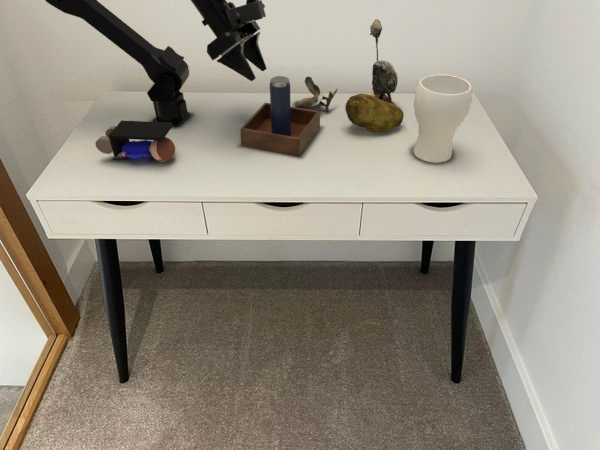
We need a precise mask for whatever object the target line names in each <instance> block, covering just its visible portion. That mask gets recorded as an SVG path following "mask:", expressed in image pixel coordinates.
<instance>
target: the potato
mask: <svg viewBox="0 0 600 450" xmlns="http://www.w3.org/2000/svg"><path fill="white" fill-rule="evenodd" d="M396 105H397V104H396ZM396 105H393V104H391V103H388V102H385V101H383V100H380V99H378V98H376V97H374V96H372V94H368V93H358V94H354V95H351V96H350V97H349V98H348V99H347V101H346V103H345V107H344V109H345V110H344V111H345V113H346V116H347V118H348V120H349V121H350V122H351V124H353V125H354V126H357V127H358V128H361V129H365V130H367V131H369V132H373V133H386V132H390V131H393V130H395V129H396V128H398V127H399V126H400V125H401V124H403V121H404V116H405V115H404V111H403V110H402V109H401V107H400V106H398V105H397V106H396Z"/></svg>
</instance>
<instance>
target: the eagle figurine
mask: <svg viewBox="0 0 600 450" xmlns="http://www.w3.org/2000/svg"><path fill="white" fill-rule="evenodd" d="M304 84H305V85H306V88H307V89H308V92H309V93H311V94H312V95H313V96H311V97H304V98H301V99H300V100H299V101H296V102H295V103H294V107H296V108H300V107H307V108H308V107H309V108H310V107H312V106H313V105H314V104H316V106H318V105H321V106H322V107H324V109H325V111H326V112H327V113H328V111H329V106H330V104H331V102H332V100H334V99H333V98H334V97H335V95H336V94H337V93H338V90H339V89H338V88H336V89H335V90H334V92H332V90H331V91H329V92H328V96H324V92H322V93H321V89H320V87H319V85H318V84H316V83H315V82H314V80H313V78H312V77H311V76H306V77H305V79H304ZM322 100H326V103H324V102H323V101H322Z"/></svg>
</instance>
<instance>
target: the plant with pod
mask: <svg viewBox="0 0 600 450" xmlns="http://www.w3.org/2000/svg"><path fill="white" fill-rule="evenodd" d="M369 29H370V34H369V36H372V37H373V38H375V47H376V61H375V62H374V63H373V64H372V73H371V75H372V76H371V77H372V80H371V86H372V88H371V89H372V91H373V93H371V95H372V96H374V97H376V98H378V99H380V100H383V101H385V102H388V103H391V104H393V105H396V106H397V107H398V105H397V104H396V103H395V102H394V100H393V99H392V95H391V94H392V93H395V92H396V89H397V88H398V87H397V86H398V73H397V72H396V70H395V67H394V66H393V64H392V63H390V62H389V61H387V60H379V49H378V45H379V44H378V43H379V38H380V36H381V34H382V31H383V26H382V23H381V21H380V20H379V19H377V18H376V19H374V20H373V22H372V24H371V25H370V26H369Z"/></svg>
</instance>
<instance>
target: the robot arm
mask: <svg viewBox="0 0 600 450" xmlns="http://www.w3.org/2000/svg"><path fill="white" fill-rule="evenodd" d="M44 1H45V2H46V3H47V4H49V5H50V6H52V7H54V8H55V9H56V10H59V11H61V12H62V13H64V14H67V15H70V16H73V17H76V18H79V19H82V20H83V21H84V22H86V23H87V24H88V25H90V26H91V27H92V28H93V29H95V30H96V31H97V32H99V34H101V35H102V36H104V37H105V38H106V39H108V40H109V41H110V42H111V43H113V44H114V45H115V46H116V47H117V48H119V49H120V50H121V51H123V52H124V53H126V54H127V55H128V56H129V57H131V58H132V60H135V62H137V63H138V64H139V65H141V66H142V68H143V69H144V71H145V72H146V75H147V76H148V78H149V80H150V81H151V82H152V83H153V84H152V86H150V88H149V89H148V90H147V92H146V95H147V97H148V98H149V101H151V102H152V104H153V108H154V113H155V117H154V118H153V119H152V120H151V122H173V126H172V127H178V126H180V125H181V124H182V123H183V122H184V121H185V120H187V119H188V118H189V117H190V116H191V112H189V111H188V106H187V101H186V99H185V98H184V92H182V91H180V90H181V89H182V88H183V86H184V84H185V83H186V82H187V80H188V79H189V76H190V68H189V64H188V63H187V62H186V61H185V60H184V59H185V56H182V55H180V54H179V53H177V52H176V51H175V50H174V48H172V47H171V46H170V45H168V46H166V48H165V49H162V48H158V47H156V46H155V45H153V44H152V43H150V42H149V41H148V40H147V39H146V38H145V37H143V36H142V35H140V34H139V33H138V32H137V31H136V30H135V29H134V28H132V27H131V26H130V25H128V24H127V23H126V22H124V21H123V20H122V19H121V18H120V17H119V16H117V15H116V14H114V13H113V12H112V11H111V10H110V9H108V8H107V7H106V6H105V5H104V4H102V3H101V2H99V0H44ZM190 2H191V3H192V5H193V6H194V7H195V10H197V12H198V13H199V15H200V16H201V18H202V19H203V20H201V23H202V25H203V26H204V27H207V26H208V28H209V30H211V32H212V33H213V35H214V36H215V37H216V38H214V39H213V40H212V41H211V42H209V43H208V44H207V45H206V53H207V55H208V56H209V58H210V59H211V61H214V60H216V62H217V63H218V64H221V65H223V66H225V67H227V68H229V69H231V70H233V71H234V72H236V73H237V74H239V75H240V76H242V77H244V78H245V79H247V80H248V81H250V82H253V81H254V80H256V75H255V73H254V71H253V69H252V67H251V65H250V63H251V64H252V65H253V66H254V67H256V68H257V69H258V70H260V71H261V72H265V71H266V70H267V65H266V62H265V60H264V57H263V54H262V51H261V48H260V45H259V39H260V35H261V31H260V30H261V27H260V26H259V23H257V21H258V20H262V19H264V18H266V17H267V15H266V11H265V8H266V5H265V3H263V0H246V2H245V4H242V5H239V6H236V5H235V3H233V2H231V1H227V0H190ZM249 62H250V63H249Z"/></svg>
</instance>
